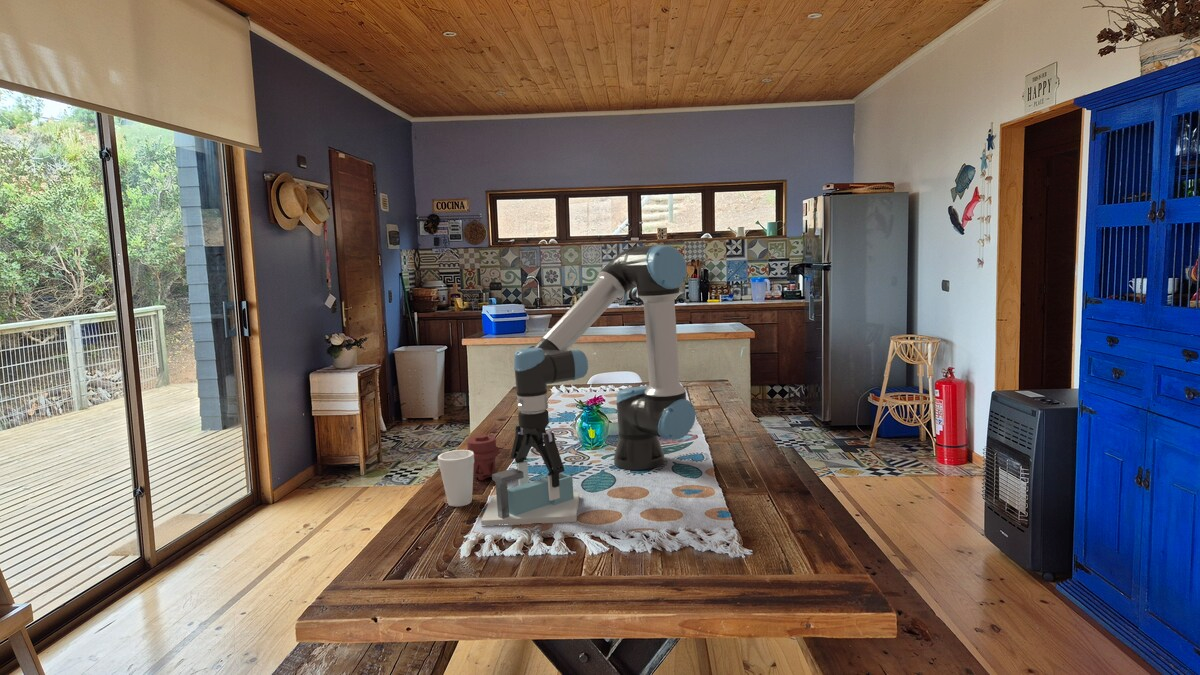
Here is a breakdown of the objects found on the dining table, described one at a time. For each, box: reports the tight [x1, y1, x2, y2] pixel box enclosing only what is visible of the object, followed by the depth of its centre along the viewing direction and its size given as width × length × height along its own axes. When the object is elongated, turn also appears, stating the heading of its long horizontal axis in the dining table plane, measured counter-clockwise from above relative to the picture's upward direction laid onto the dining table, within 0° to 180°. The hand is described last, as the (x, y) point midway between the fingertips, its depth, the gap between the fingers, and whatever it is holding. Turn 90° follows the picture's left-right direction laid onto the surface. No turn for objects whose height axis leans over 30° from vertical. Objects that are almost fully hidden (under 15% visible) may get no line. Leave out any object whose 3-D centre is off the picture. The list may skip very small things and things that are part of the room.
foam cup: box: [437, 449, 474, 507], centre depth 193 cm, size 10×9×13 cm
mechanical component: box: [466, 433, 500, 481], centre depth 213 cm, size 12×10×10 cm
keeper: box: [491, 468, 524, 519], centre depth 178 cm, size 6×4×12 cm
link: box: [507, 472, 574, 516], centre depth 183 cm, size 17×6×6 cm, turn 129°
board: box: [480, 472, 580, 526], centre depth 183 cm, size 23×17×8 cm
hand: (538, 492), depth 183 cm, fingers open, 13 cm apart
